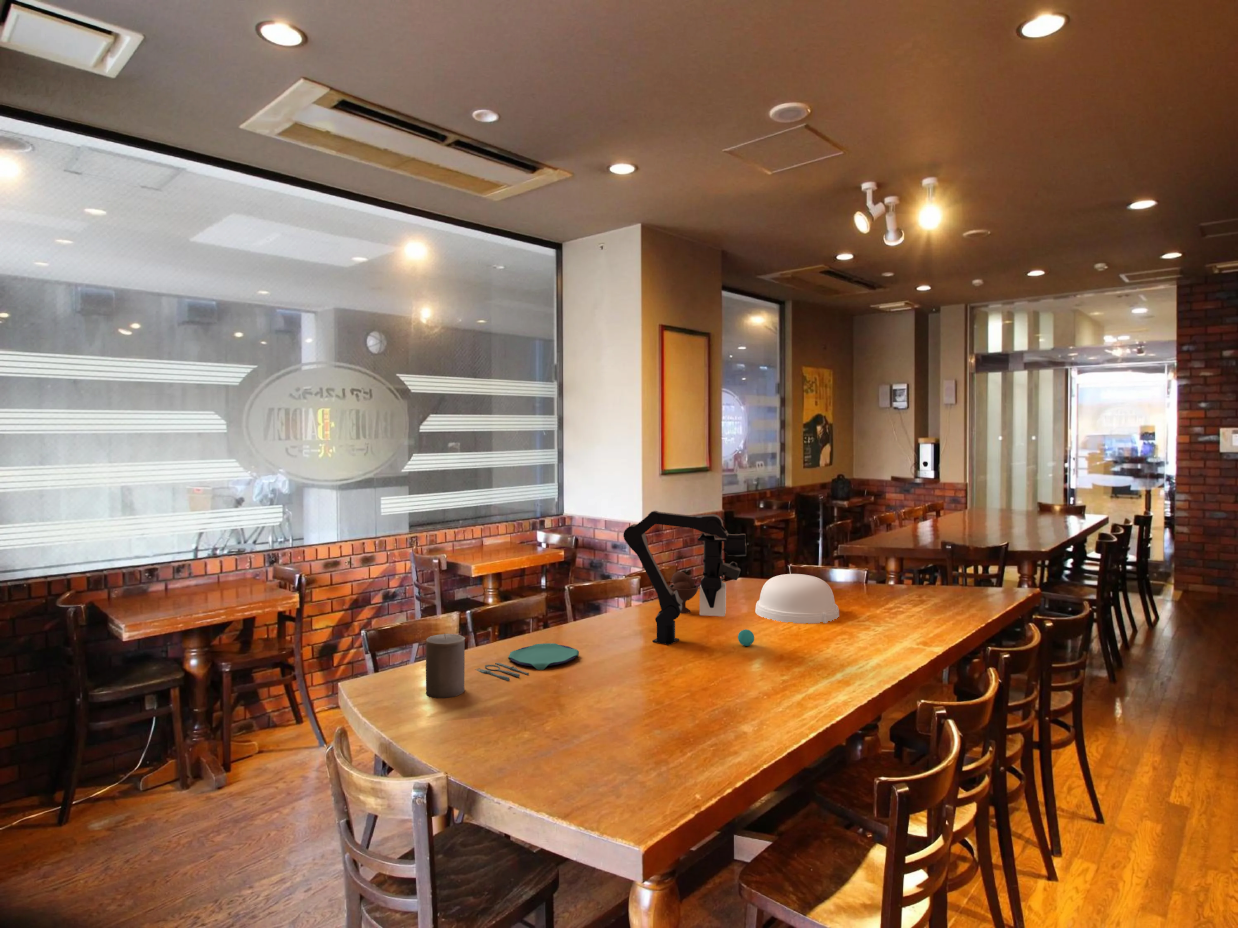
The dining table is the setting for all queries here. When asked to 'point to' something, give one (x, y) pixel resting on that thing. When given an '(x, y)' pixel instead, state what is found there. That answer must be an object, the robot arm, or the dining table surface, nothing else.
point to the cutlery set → (535, 658)
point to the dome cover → (797, 600)
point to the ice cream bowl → (683, 588)
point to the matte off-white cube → (718, 605)
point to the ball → (746, 637)
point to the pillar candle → (445, 665)
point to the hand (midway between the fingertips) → (712, 604)
